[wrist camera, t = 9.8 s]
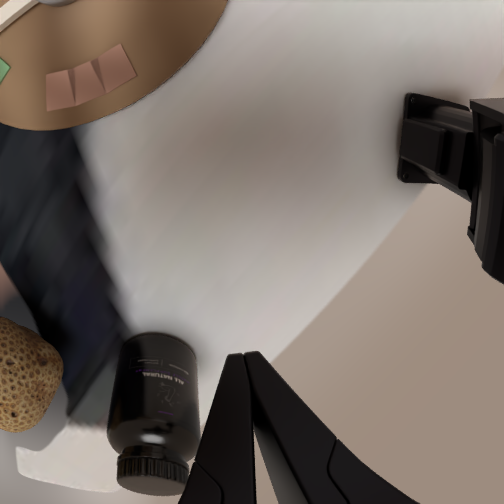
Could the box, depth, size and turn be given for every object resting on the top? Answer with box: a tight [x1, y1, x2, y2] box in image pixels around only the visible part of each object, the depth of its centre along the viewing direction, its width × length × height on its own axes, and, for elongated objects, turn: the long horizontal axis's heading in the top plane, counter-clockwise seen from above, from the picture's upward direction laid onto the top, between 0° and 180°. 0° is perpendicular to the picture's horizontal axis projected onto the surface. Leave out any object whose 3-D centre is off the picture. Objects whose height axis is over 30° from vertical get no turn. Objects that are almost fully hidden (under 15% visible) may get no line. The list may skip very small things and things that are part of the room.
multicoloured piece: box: [0, 0, 75, 32], centre depth 8 cm, size 10×4×5 cm, turn 110°
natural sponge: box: [0, 317, 63, 432], centre depth 18 cm, size 9×9×10 cm
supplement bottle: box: [107, 334, 201, 496], centre depth 20 cm, size 7×7×12 cm
